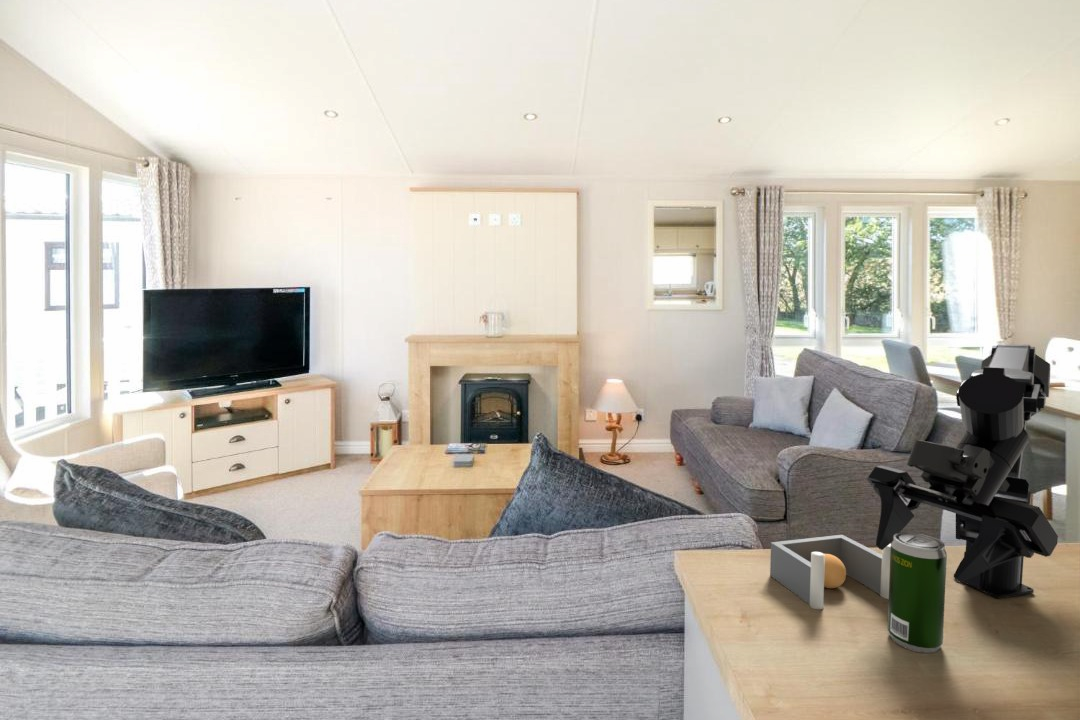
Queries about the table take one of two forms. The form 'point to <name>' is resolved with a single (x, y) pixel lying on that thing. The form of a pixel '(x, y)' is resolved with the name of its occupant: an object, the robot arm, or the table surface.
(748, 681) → the table surface
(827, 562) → the ball
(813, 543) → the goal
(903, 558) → the beer can
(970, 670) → the table surface
